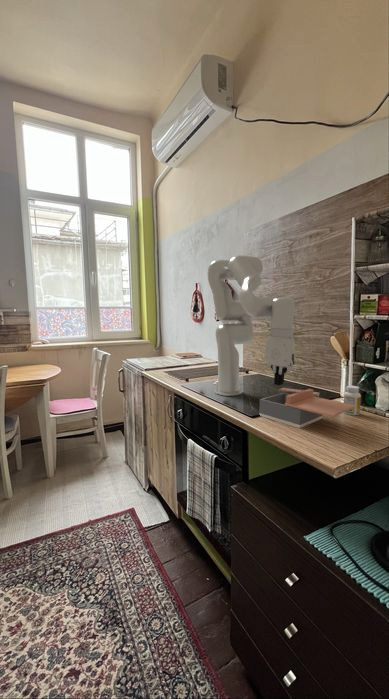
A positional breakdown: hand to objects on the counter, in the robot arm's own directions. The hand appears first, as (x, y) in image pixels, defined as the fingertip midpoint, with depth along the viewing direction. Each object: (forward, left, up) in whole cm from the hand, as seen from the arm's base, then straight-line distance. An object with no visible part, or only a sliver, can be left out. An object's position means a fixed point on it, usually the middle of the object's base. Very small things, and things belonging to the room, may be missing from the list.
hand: (278, 384), depth 111 cm
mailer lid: (+16, 0, -4) cm, 16 cm away
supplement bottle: (+17, +20, -11) cm, 28 cm away
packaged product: (-4, +20, -12) cm, 24 cm away
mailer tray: (+5, 0, -11) cm, 12 cm away
